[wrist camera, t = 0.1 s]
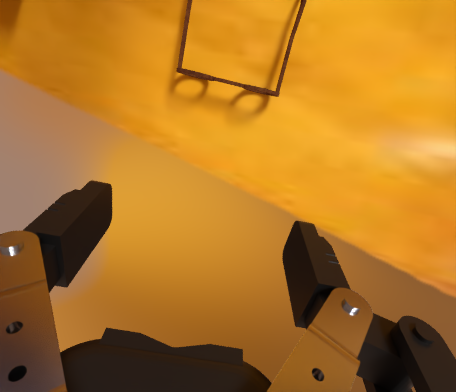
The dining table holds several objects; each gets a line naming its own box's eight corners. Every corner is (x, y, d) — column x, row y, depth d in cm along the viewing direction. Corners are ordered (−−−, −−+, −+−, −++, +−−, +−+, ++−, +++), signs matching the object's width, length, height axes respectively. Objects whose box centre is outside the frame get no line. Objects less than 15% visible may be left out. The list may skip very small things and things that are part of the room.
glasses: (180, 73, 36) (172, 77, 32) (196, -53, 30) (188, -69, 26) (274, 96, 38) (279, 103, 33) (309, -21, 31) (320, -31, 27)
